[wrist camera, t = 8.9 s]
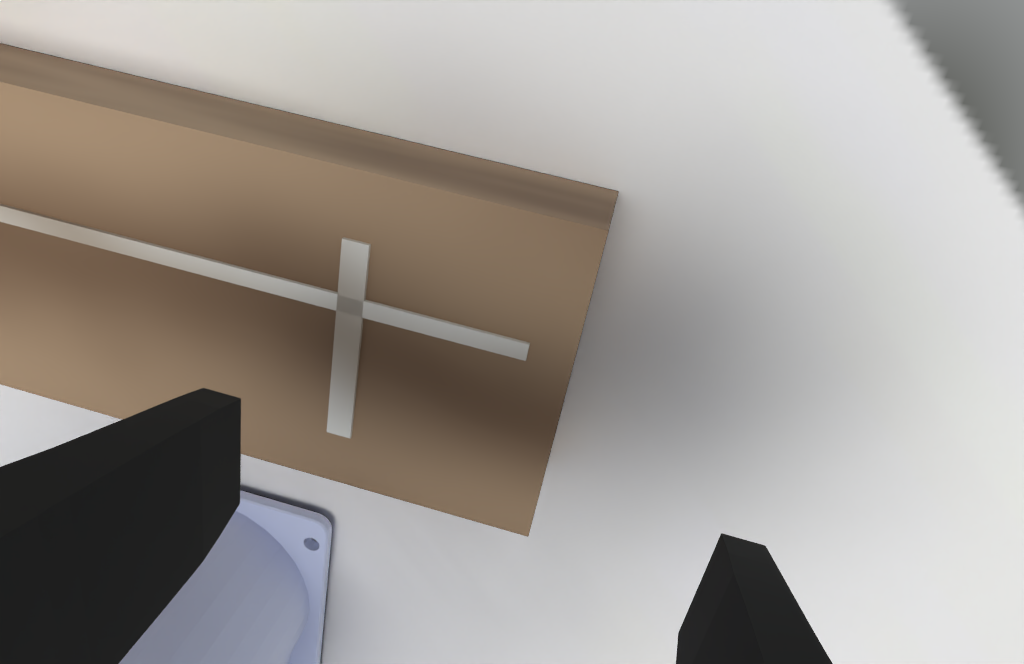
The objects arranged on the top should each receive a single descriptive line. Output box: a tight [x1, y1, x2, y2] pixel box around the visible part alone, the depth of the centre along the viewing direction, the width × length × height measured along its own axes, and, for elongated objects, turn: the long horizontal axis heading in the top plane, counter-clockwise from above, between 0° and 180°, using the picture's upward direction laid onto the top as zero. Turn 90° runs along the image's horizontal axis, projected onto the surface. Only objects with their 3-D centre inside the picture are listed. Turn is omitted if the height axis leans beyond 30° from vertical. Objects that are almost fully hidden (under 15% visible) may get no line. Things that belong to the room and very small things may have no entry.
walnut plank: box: [0, 44, 618, 536], centre depth 18 cm, size 8×24×3 cm, turn 79°
